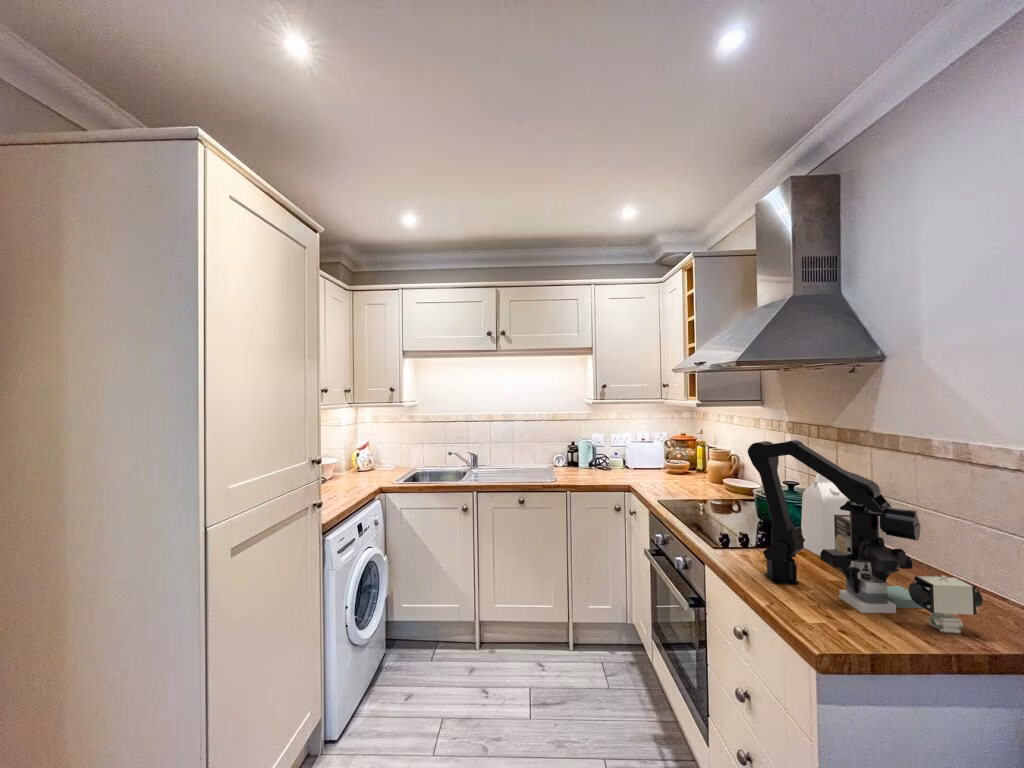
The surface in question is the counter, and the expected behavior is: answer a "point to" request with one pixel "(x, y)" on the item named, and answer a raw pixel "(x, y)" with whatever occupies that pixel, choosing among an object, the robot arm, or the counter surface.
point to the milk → (821, 514)
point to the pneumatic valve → (945, 600)
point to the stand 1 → (864, 606)
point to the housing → (870, 589)
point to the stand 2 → (900, 597)
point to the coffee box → (846, 540)
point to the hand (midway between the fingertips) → (866, 593)
